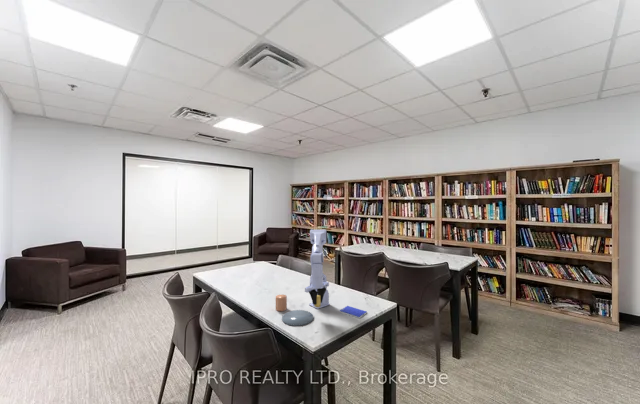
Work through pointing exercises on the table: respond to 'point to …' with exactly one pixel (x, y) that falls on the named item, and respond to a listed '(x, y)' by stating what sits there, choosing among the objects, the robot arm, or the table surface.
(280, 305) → the tan piece
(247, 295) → the table surface
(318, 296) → the capsule
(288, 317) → the lid
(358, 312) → the hard drive
